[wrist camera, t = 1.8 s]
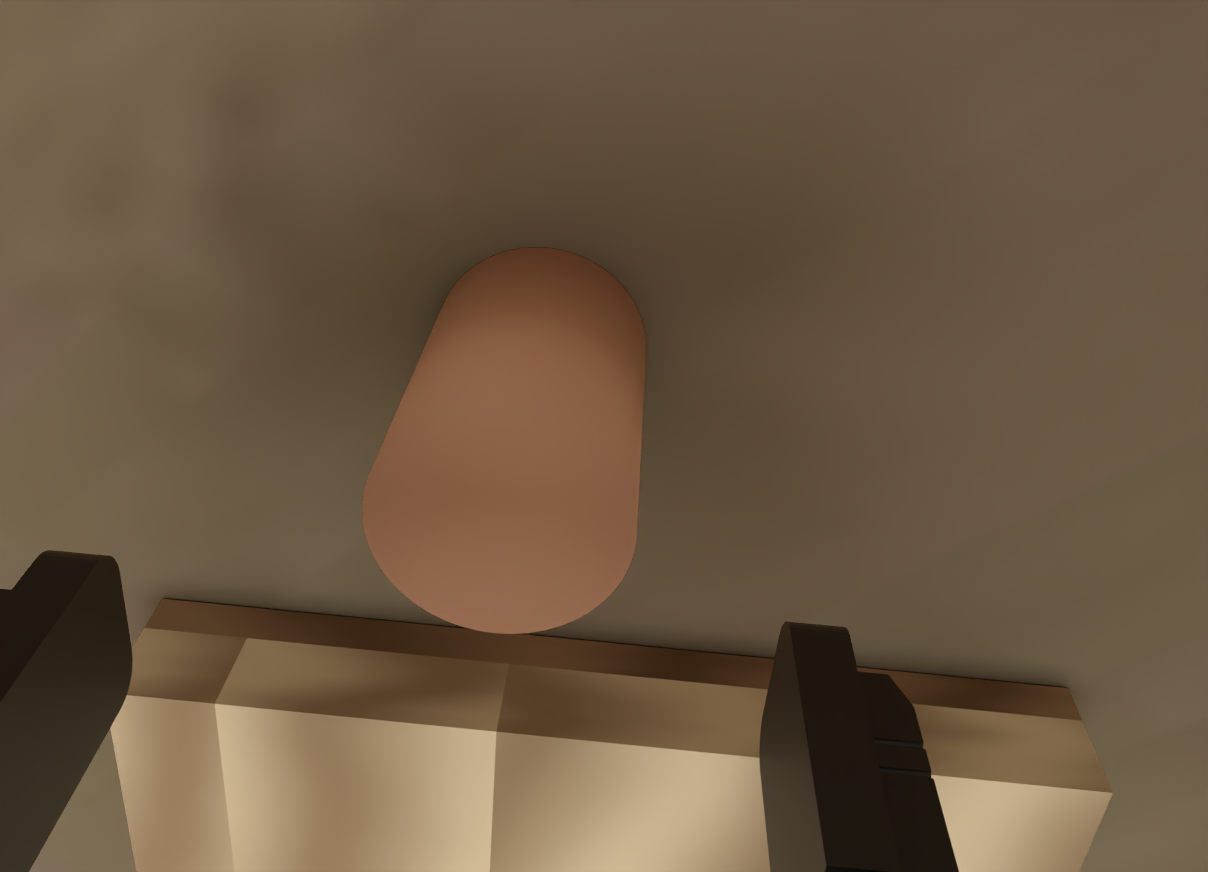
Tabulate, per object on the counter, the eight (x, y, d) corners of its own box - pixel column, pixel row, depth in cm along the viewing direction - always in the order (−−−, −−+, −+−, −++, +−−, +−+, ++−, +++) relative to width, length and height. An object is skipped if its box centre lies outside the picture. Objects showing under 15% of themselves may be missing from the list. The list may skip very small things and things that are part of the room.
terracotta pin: (656, 258, 21) (651, 419, 16) (635, 447, 23) (624, 646, 18) (437, 237, 21) (359, 391, 16) (435, 427, 23) (365, 620, 18)
